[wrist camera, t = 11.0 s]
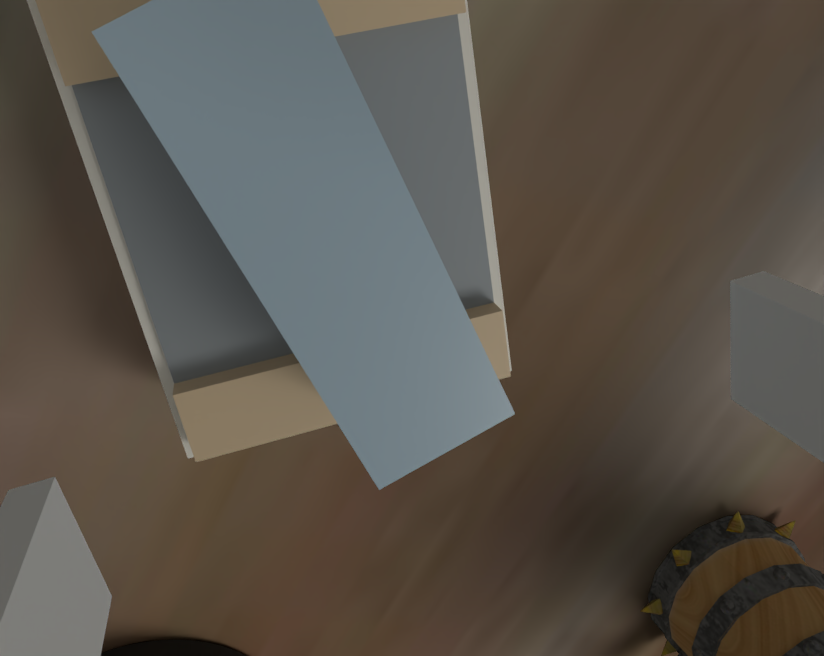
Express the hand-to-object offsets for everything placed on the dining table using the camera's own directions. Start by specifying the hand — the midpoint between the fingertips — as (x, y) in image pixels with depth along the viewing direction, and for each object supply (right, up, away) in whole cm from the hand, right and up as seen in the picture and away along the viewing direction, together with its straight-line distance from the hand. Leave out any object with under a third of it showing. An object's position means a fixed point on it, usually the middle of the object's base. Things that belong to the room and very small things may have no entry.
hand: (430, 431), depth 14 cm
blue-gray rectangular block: (-4, +6, +12) cm, 14 cm away
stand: (-6, +9, +18) cm, 21 cm away
